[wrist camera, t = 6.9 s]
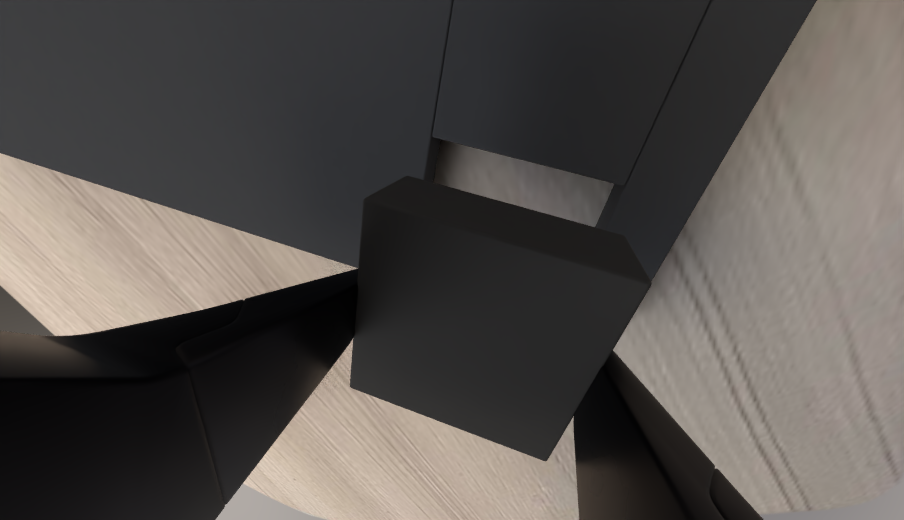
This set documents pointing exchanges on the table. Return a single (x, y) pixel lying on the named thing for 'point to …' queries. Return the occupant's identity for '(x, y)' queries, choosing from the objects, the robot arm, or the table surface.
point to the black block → (486, 311)
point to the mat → (384, 100)
